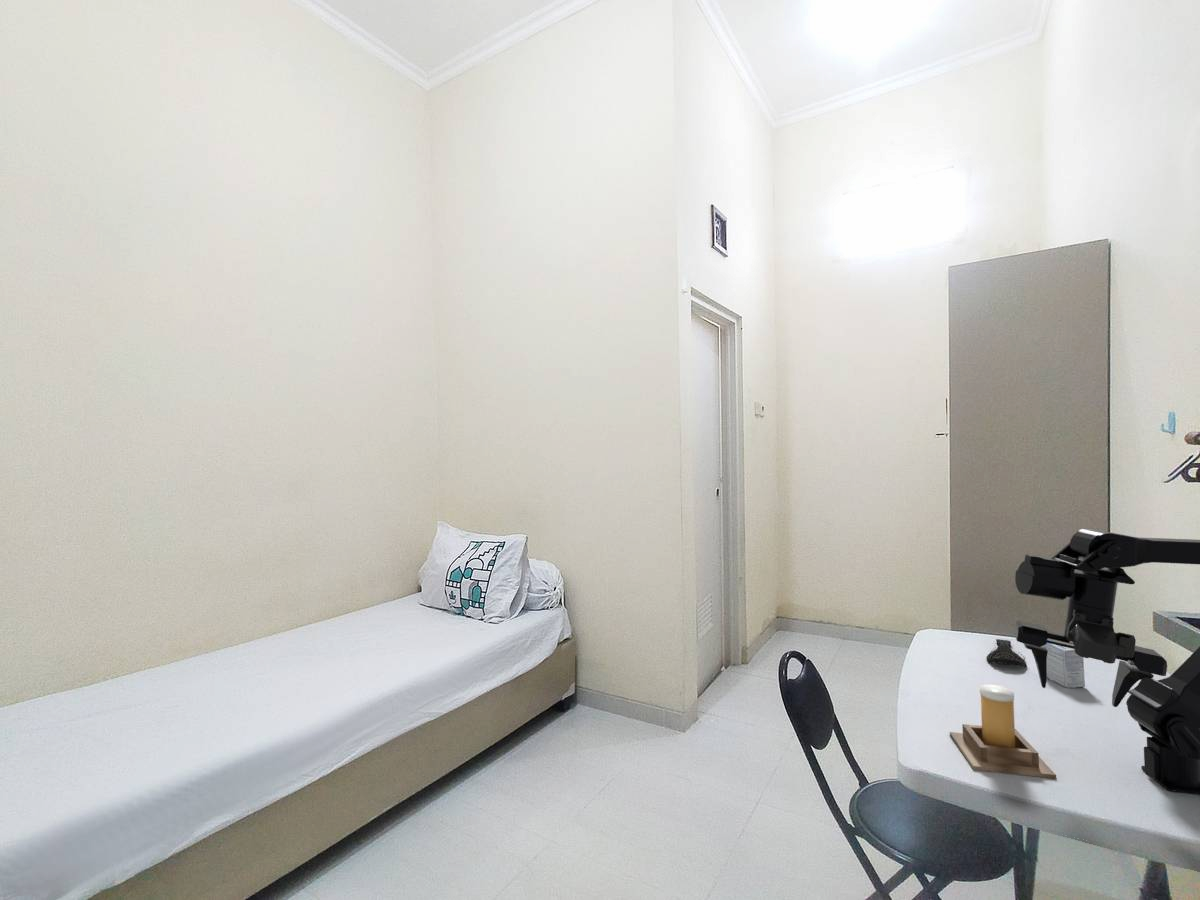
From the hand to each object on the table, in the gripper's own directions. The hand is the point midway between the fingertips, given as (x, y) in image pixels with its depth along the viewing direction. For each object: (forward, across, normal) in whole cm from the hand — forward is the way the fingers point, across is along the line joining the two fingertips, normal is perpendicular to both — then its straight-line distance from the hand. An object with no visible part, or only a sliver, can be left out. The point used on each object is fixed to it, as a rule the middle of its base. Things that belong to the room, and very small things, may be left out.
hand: (1077, 696), depth 93 cm
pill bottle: (+14, -9, +1) cm, 17 cm away
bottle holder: (+14, -9, +1) cm, 17 cm away
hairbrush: (+11, -4, +61) cm, 62 cm away
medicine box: (+10, +6, +46) cm, 47 cm away
